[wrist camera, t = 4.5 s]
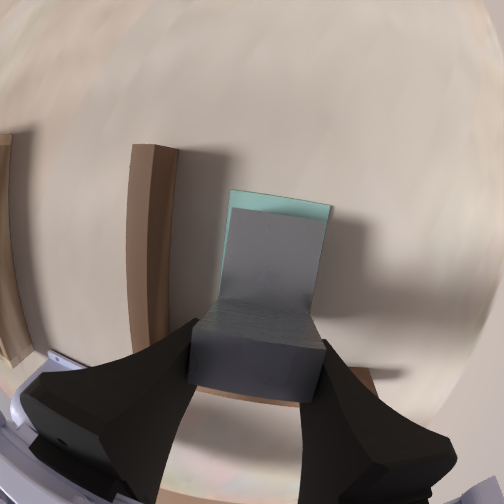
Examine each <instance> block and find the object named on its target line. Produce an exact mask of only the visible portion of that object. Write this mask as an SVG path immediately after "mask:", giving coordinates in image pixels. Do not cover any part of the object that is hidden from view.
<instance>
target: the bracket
mask: <svg viewBox="0 0 504 504" xmlns="http://www.w3.org/2000/svg"><path fill="white" fill-rule="evenodd" d="M325 223H326V222H323V221H317V220H312V219H306V218H300V217H294V216H288V215H282V214H276V213H269V212H263V211H256V210H250V209H243V208H236V207H232V212H231V218H230V224H229V231H228V237H227V243H226V250H225V257H224V263H223V270H222V277H221V284H220V291H219V298H218V300H217V301H216V302H215V303H214V305H213V306H212V307H211V308H210V309H209V310H208V311H207V312H206V313H205V315H204V316H203V317H202V318H201V319H200V320H199V321H198V322H197V324H196V325H195V326H194V327H193V330H192V340H191V350H190V361H189V374H188V383H189V384H193V385H197V386H201V387H206V388H210V389H215V390H219V391H224V392H229V393H235V394H240V395H246V396H252V397H259V398H265V399H273V400H281V401H290V402H300V403H311V401H312V398H313V395H314V392H315V389H316V385H317V382H318V379H319V375H320V372H321V368H322V365H323V361H324V357H325V354H326V350H327V349H326V347H325V345H324V343H323V341H322V339H321V337H320V335H319V333H318V331H317V329H316V326H315V324H314V322H313V320H312V318H311V316H310V314H309V313H310V308H311V303H312V298H313V293H314V288H315V283H316V278H317V272H318V266H319V261H320V255H321V249H322V242H323V236H324V229H325Z"/></svg>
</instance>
